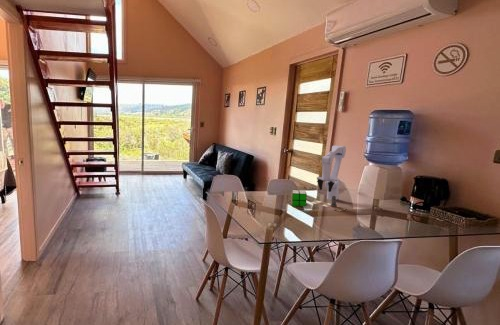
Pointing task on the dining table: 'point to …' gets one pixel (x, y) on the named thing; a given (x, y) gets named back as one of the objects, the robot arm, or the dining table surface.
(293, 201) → the puzzle cube
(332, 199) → the pawn
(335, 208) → the board
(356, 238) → the dining table surface
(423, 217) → the dining table surface
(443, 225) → the dining table surface
